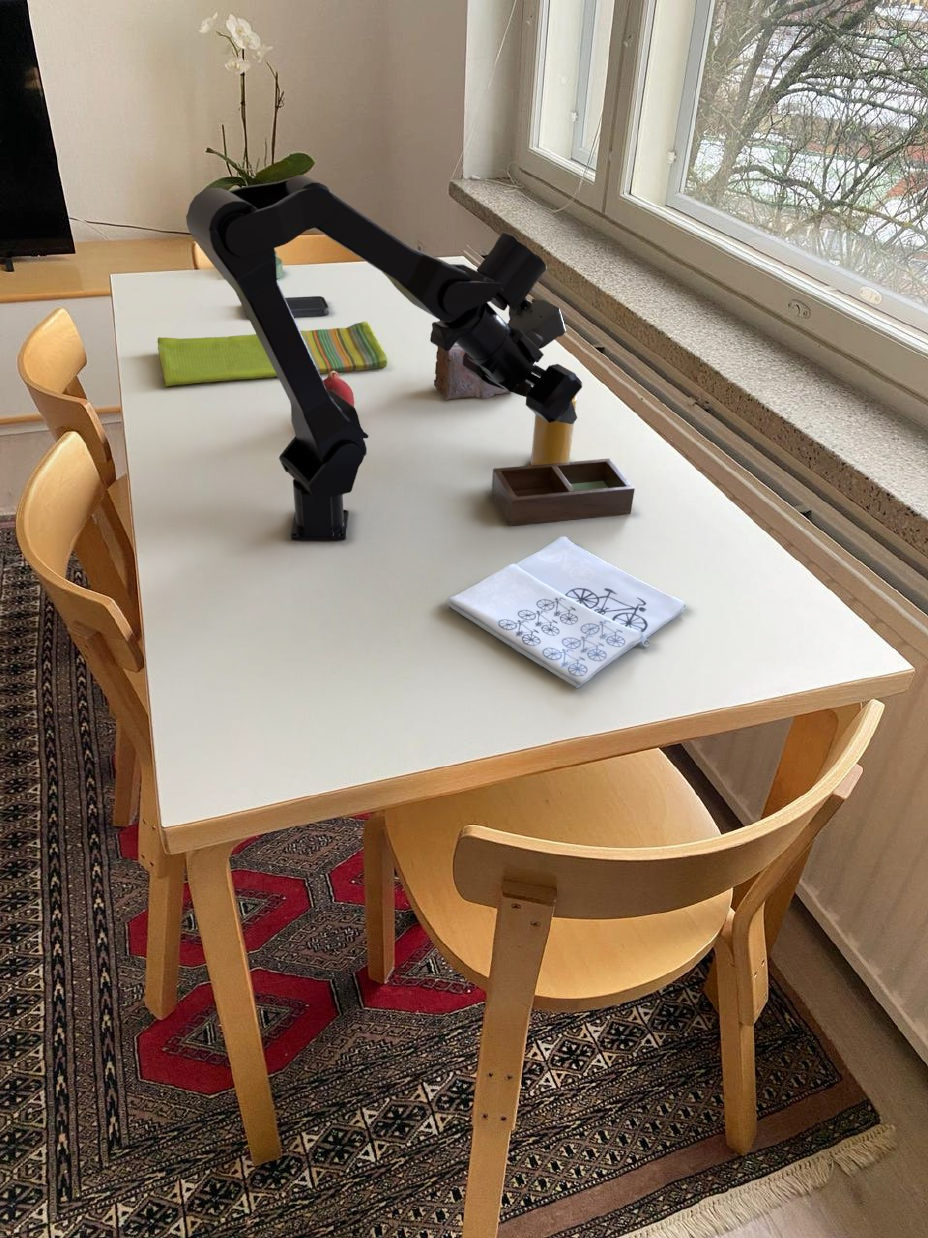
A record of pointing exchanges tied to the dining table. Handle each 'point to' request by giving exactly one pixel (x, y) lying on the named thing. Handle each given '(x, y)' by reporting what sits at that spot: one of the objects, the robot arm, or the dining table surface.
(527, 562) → the folded bicycle print cloth
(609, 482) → the brown divided tray
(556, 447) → the bottle
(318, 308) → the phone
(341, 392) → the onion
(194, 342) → the dish towel
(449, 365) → the red crystal topped stone
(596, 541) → the dining table surface
